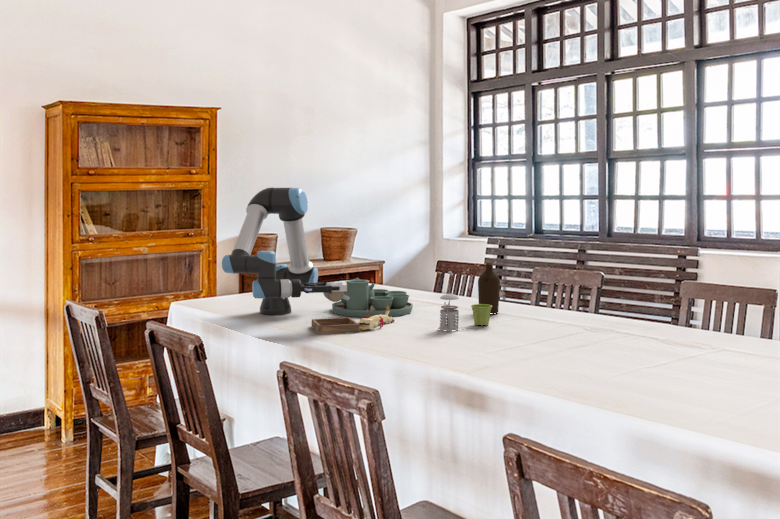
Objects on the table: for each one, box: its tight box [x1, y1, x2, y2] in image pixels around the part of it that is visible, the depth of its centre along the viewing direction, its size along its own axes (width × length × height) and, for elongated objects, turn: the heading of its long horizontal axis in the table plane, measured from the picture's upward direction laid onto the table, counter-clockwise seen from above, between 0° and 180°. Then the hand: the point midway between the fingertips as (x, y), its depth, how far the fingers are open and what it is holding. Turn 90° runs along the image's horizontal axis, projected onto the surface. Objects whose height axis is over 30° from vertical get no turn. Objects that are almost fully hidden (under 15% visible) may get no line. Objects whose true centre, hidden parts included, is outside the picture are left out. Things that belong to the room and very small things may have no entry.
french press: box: [437, 270, 461, 332], centre depth 290 cm, size 10×12×25 cm
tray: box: [311, 316, 361, 335], centre depth 291 cm, size 17×17×3 cm
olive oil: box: [477, 261, 501, 313], centre depth 333 cm, size 11×11×25 cm
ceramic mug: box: [323, 281, 350, 303], centre depth 290 cm, size 11×8×8 cm
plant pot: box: [470, 303, 492, 326], centre depth 302 cm, size 9×9×9 cm
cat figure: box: [357, 306, 395, 331], centre depth 298 cm, size 10×9×25 cm
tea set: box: [331, 277, 414, 318], centre depth 339 cm, size 40×40×16 cm
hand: (344, 286), depth 290 cm, fingers closed on ceramic mug, 8 cm apart
